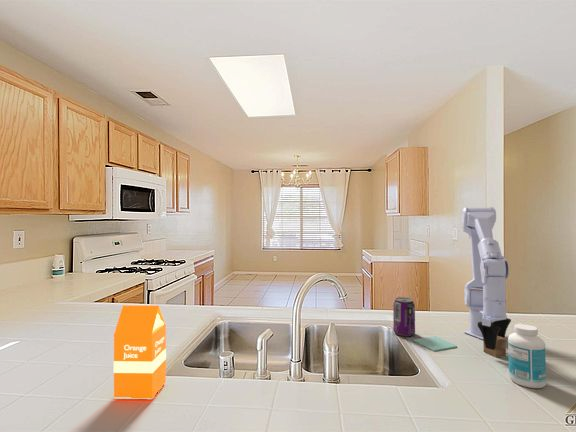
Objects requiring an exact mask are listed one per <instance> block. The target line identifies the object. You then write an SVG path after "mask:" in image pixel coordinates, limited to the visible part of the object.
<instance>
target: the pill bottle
mask: <svg viewBox="0 0 576 432" xmlns="http://www.w3.org/2000/svg"><path fill="white" fill-rule="evenodd" d="M513 328H514V332H512V333H510V334H509V335H508V338H507V349H508V350H507V351H508V354H507V355H508V356H507V357H508V377H509V379H510V380H511V381H512V382H514V383H515V384H517V385H518V386H522V387H525V388H531V389H542V388H544V387H546V384H547V369H546V368H547V367H546V364H547V363H546V359H547V358H546V343H545V341H544V339H543V338H541V337H540V336H538V334H539V329H538V327H537V326H533V325H530V324H523V323H516V324H514V327H513Z"/></svg>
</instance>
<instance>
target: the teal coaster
mask: <svg viewBox="0 0 576 432" xmlns="http://www.w3.org/2000/svg"><path fill="white" fill-rule="evenodd" d="M413 341H414V342H415V343H417V344H419V345H421V346H422V347H424V348H427V349H429V350H431V351H432V352H437V351H442V350H443V351H444V350H450V349H455V348H456V349H457V348H458V345H455V344H453V343H451V342H449V341H447V340H444V339H442V338H440V337H438V336H429V337H424V338H423V337H422V338H417V339H416V338H415V339H413Z"/></svg>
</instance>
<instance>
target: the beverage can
mask: <svg viewBox="0 0 576 432" xmlns="http://www.w3.org/2000/svg"><path fill="white" fill-rule="evenodd" d="M392 306H393V310H392V311H393V313H392V314H393V317H392V319H393V327H392V328H393V332H394V333H395V334H397V335H398V336H400V337H411V336H413V335H415V334H416V305H415V302H414V299H413V298H412V297H411V298H410V297H404V296H403V297H402V296H399V297H395V298H394V302H393V305H392Z"/></svg>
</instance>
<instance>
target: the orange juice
mask: <svg viewBox="0 0 576 432" xmlns="http://www.w3.org/2000/svg"><path fill="white" fill-rule="evenodd" d="M160 308H161V307H160V306H159V305H127V304H126V305H122V308H121V310H120V314H119V317H118V320H117V324H116V325H115V326H116V327H115V330H114V332H113V398H114V397H131V398H153V397H154V396H155V394H156V393H157V392H158V391H159V389H160V388H161V387H162V386H163V384H164V383H165V382H166V381H167V377H166V376H167V364H166V362H167V349H166V347H167V344H166V342H167V341H166V339H167V336H166V335H167V334H166V331H167V330H166V329H167V328H166V326H167V325H166V323H165V320H164V317H163V314H162V312H161V309H160ZM166 383H167V382H166ZM163 387H164V386H163ZM163 387H162V388H163ZM159 392H160V391H159ZM159 392H158V393H159ZM155 397H156V396H155ZM155 397H154V398H155Z"/></svg>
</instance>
